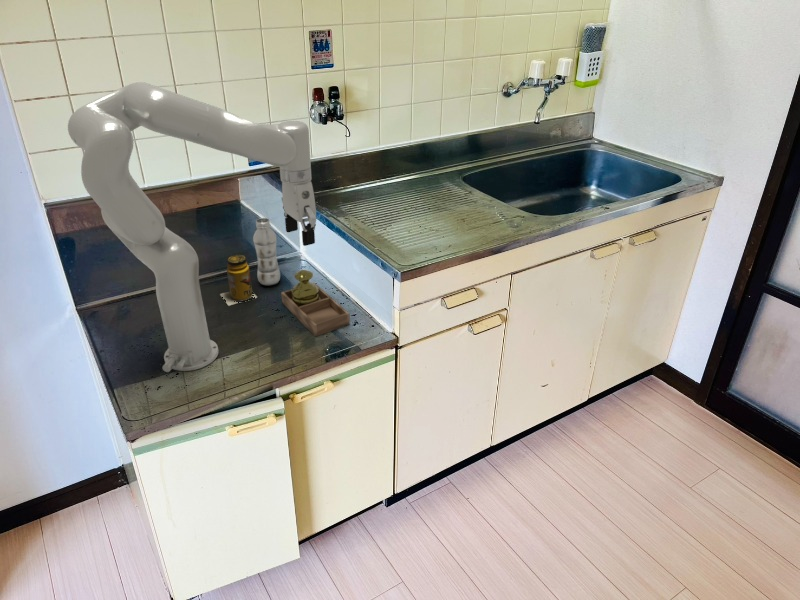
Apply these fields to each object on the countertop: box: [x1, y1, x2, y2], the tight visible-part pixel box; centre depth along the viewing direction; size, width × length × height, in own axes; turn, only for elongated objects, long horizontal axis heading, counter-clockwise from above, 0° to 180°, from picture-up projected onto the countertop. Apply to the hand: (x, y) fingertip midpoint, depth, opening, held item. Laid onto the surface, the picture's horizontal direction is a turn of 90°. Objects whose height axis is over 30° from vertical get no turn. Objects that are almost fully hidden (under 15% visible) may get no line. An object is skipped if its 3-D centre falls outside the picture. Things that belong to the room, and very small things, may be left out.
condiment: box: [219, 254, 258, 307], centre depth 168 cm, size 7×8×12 cm
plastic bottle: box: [252, 217, 281, 287], centre depth 173 cm, size 6×7×20 cm
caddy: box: [280, 282, 351, 337], centre depth 163 cm, size 20×10×4 cm, turn 35°
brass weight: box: [290, 269, 319, 307], centre depth 164 cm, size 7×7×10 cm
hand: (300, 237), depth 156 cm, fingers open, 9 cm apart
